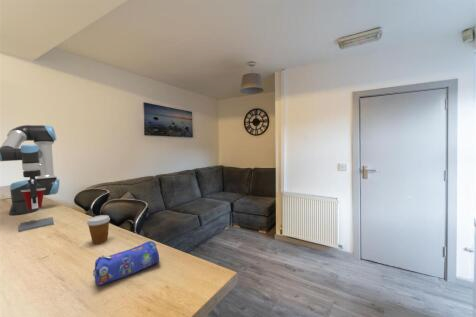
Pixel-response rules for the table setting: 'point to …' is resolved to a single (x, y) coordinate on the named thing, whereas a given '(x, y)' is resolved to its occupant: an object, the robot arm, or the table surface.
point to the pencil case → (125, 263)
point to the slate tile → (36, 224)
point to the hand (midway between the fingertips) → (35, 206)
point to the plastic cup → (28, 201)
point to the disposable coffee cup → (99, 228)
